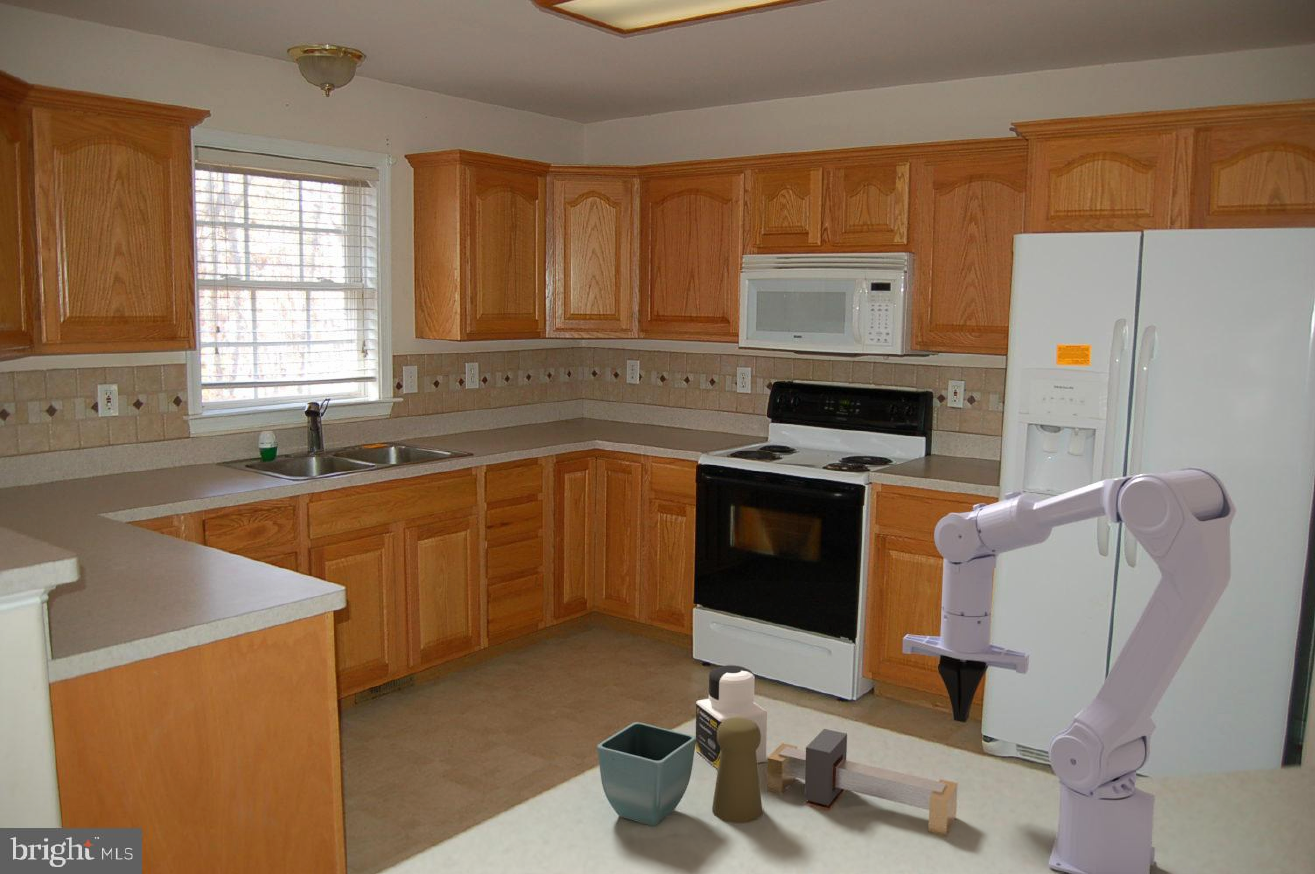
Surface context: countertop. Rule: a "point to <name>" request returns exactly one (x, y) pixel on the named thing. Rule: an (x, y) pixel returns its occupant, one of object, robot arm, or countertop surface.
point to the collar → (823, 765)
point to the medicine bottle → (728, 710)
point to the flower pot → (646, 771)
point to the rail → (870, 785)
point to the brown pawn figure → (738, 772)
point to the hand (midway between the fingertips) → (961, 718)
